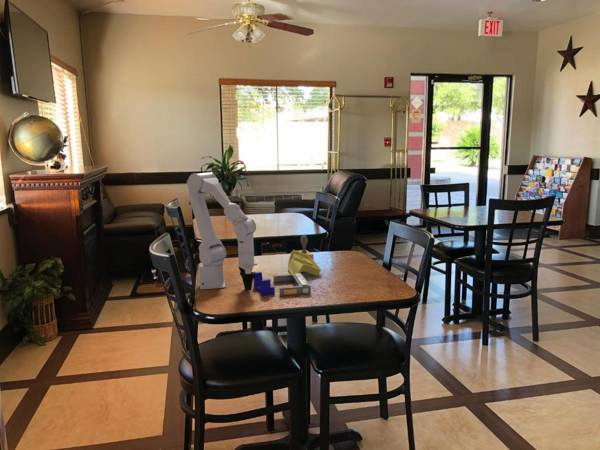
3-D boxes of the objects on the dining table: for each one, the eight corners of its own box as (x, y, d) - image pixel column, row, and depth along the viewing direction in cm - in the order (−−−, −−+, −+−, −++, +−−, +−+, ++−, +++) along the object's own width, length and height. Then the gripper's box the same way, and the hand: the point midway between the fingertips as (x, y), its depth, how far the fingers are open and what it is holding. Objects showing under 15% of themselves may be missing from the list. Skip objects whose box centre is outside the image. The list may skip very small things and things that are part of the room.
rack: (280, 296, 175) (279, 287, 174) (273, 283, 191) (273, 274, 191) (310, 294, 177) (310, 285, 176) (301, 281, 193) (301, 272, 193)
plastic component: (322, 270, 200) (301, 262, 196) (315, 286, 200) (294, 278, 197) (309, 256, 218) (290, 248, 215) (302, 270, 219) (283, 263, 216)
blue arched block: (274, 295, 178) (274, 279, 176) (263, 296, 176) (262, 280, 175) (264, 286, 188) (264, 271, 187) (253, 287, 187) (253, 272, 186)
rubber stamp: (313, 262, 223) (313, 236, 221) (302, 263, 221) (301, 237, 219) (306, 257, 232) (305, 232, 230) (294, 258, 230) (294, 233, 228)
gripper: (258, 255, 172) (260, 292, 175) (254, 247, 186) (256, 281, 189) (239, 257, 171) (240, 293, 173) (236, 248, 185) (237, 282, 187)
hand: (247, 287), depth 181 cm, fingers open, 7 cm apart
